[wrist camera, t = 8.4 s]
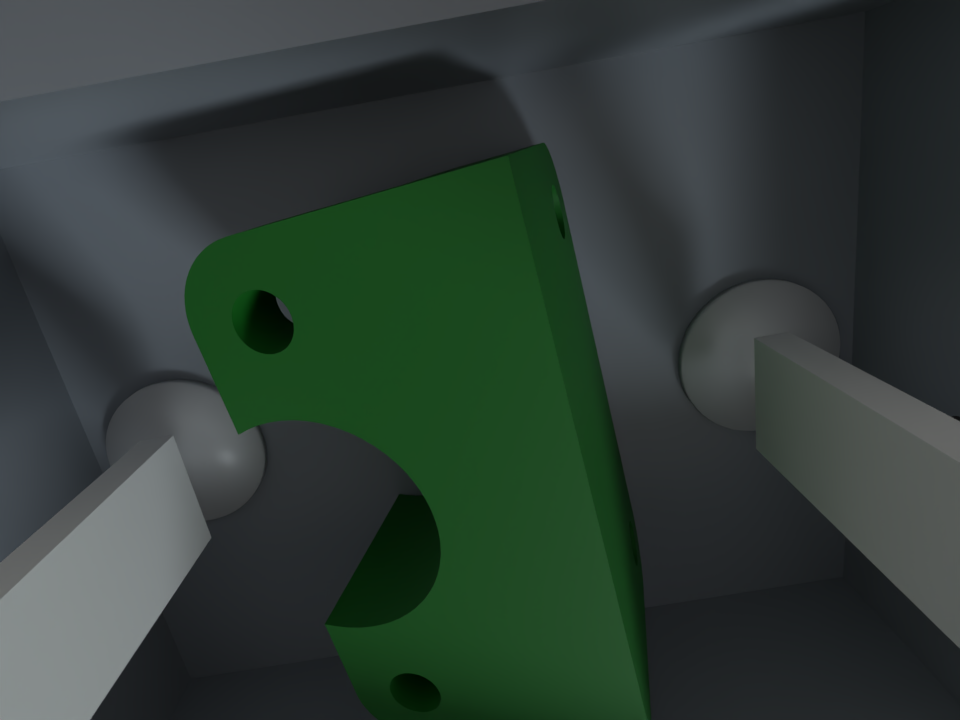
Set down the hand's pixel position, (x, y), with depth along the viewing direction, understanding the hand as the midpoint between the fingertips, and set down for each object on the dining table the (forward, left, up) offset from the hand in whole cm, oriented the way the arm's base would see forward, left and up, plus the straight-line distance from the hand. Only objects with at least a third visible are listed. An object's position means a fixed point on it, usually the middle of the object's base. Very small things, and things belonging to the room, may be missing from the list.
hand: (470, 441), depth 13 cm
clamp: (0, 0, -2) cm, 2 cm away
